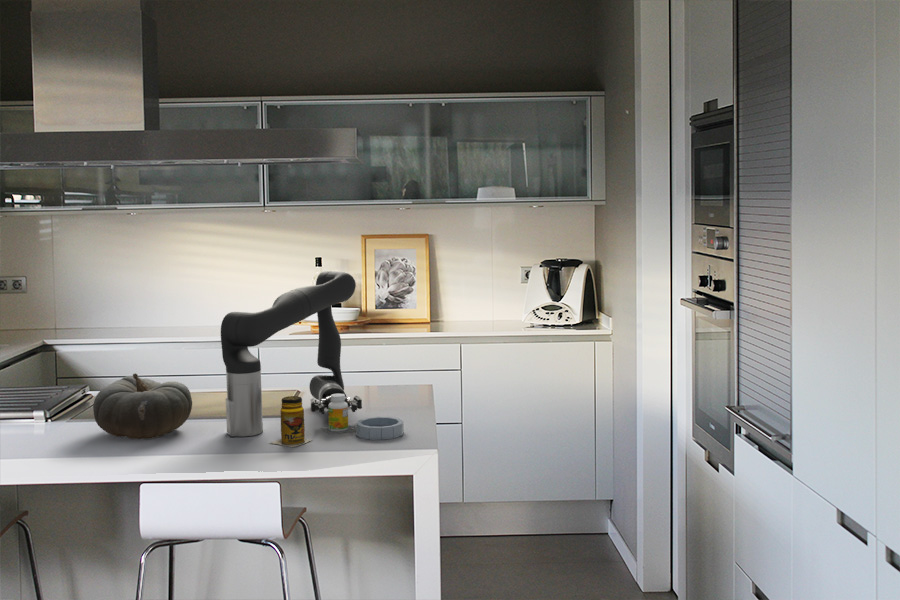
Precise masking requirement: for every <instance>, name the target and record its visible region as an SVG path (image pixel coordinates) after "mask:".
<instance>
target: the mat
mask: <svg viewBox="0 0 900 600" xmlns="http://www.w3.org/2000/svg"><path fill="white" fill-rule="evenodd" d="M320 429H321V430H322V431H323V432H324V433H325V434H327V435H335V434H345V433H346V434H347V433H351V432H352V433H353V432H354V433H355V432H356V428H353V427H352V426H350V425H349V424H348V429H347V430H345V431H339V432H336V431H330V430H329V426H328V427H322V428H320Z"/></svg>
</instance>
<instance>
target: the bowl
mask: <svg viewBox="0 0 900 600" xmlns="http://www.w3.org/2000/svg"><path fill="white" fill-rule="evenodd" d="M404 427H405V426H404V420H403V419H401V418H399V417H393V416H373V417H370V416H369V417H365V418H362V419H359V420H357V422H355V430H356V431H355V433H356V436H357V437H359V438H360V439H365V440H374V441H375V440H379V441H380V440H381V441H382V440H390V439H396V438H399V437H402V436H403V434H404V431H405V430H404Z"/></svg>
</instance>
